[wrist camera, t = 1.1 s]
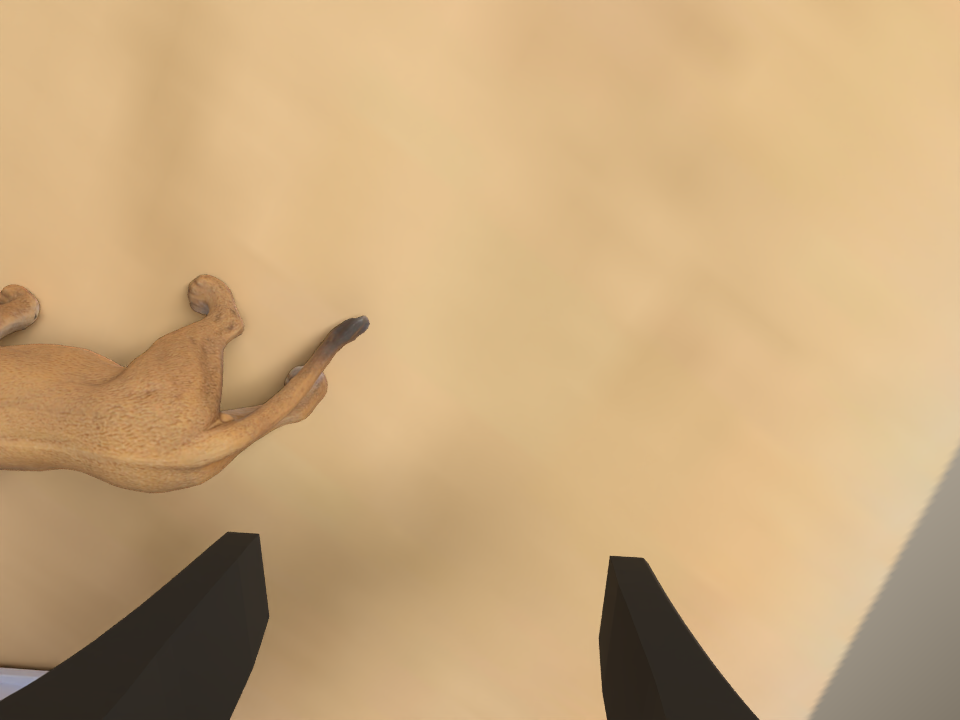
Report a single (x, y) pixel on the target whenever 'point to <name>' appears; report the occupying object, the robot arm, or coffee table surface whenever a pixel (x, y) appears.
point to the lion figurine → (143, 399)
